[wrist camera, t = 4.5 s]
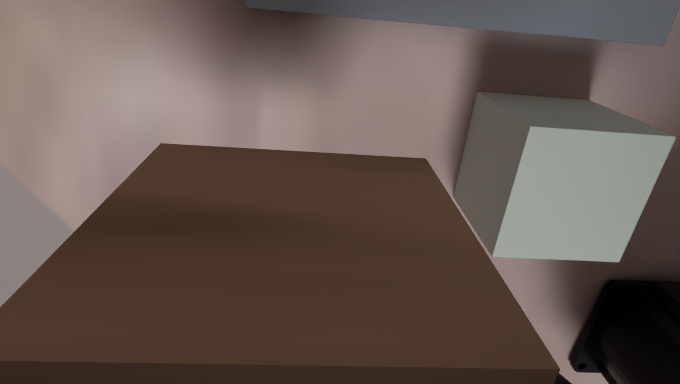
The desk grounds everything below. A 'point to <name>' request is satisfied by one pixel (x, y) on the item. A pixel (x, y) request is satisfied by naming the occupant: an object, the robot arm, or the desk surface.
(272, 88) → the desk surface
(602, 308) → the robot arm
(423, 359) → the walnut block
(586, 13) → the blueprint board
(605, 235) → the sage block
